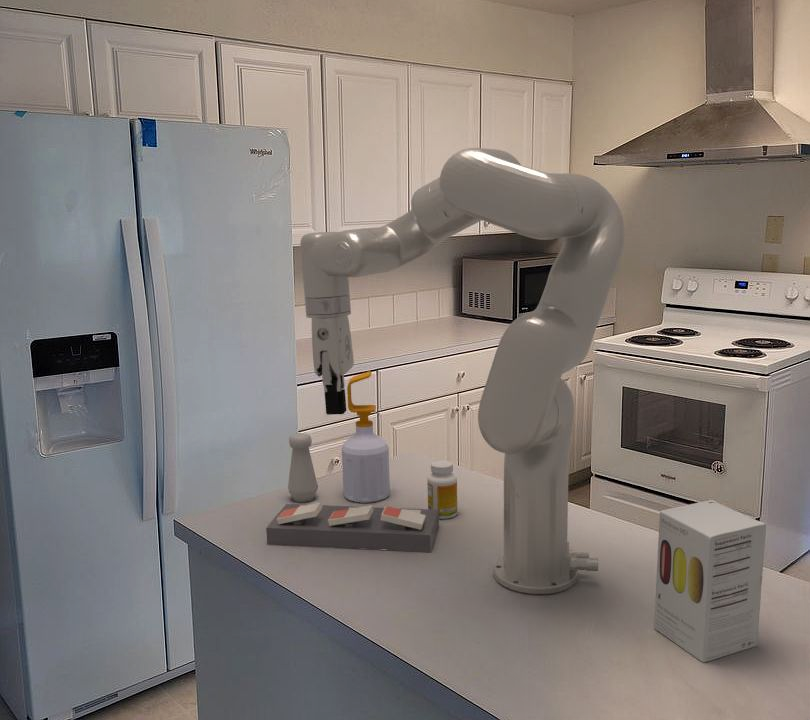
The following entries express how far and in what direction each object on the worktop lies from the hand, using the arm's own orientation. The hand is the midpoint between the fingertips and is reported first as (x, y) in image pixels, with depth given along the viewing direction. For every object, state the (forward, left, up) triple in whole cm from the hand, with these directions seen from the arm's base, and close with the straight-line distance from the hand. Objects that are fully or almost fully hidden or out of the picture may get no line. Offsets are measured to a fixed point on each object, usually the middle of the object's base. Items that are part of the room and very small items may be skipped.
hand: (336, 413), depth 139 cm
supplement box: (-56, +29, -22) cm, 67 cm away
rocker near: (-12, +4, -17) cm, 21 cm away
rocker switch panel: (-3, +2, -21) cm, 22 cm away
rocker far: (+6, +4, -17) cm, 18 cm away
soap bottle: (-1, -17, -22) cm, 27 cm away
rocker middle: (-3, +4, -17) cm, 17 cm away
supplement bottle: (-17, -9, -22) cm, 29 cm away
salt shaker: (+11, -14, -22) cm, 28 cm away
